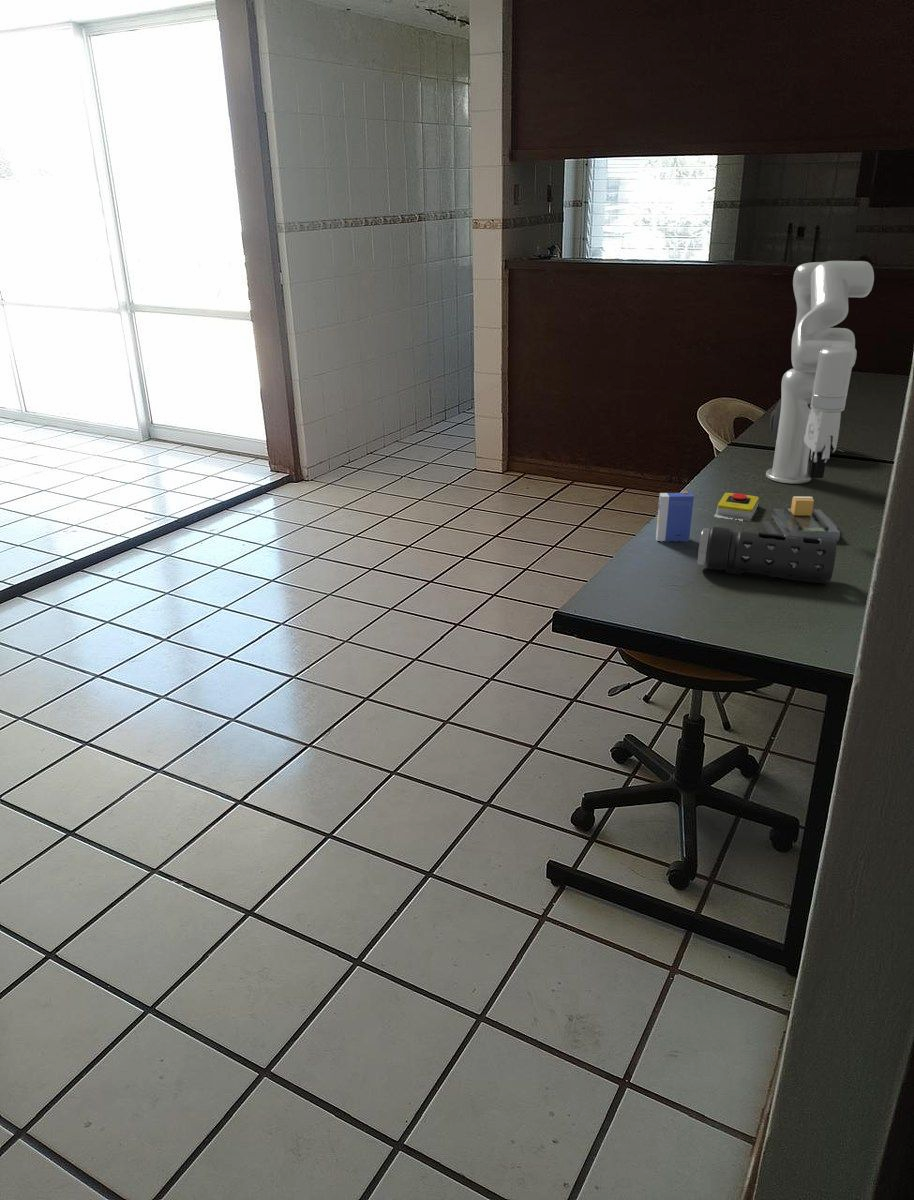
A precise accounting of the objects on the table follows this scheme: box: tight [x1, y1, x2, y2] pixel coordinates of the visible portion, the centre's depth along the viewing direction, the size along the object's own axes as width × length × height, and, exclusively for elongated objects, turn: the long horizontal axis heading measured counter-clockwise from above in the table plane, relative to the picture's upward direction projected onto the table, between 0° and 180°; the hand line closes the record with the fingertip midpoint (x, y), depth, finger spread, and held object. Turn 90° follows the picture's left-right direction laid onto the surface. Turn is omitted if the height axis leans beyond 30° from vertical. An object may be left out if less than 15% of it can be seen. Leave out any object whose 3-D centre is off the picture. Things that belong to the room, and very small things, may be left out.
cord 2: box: [826, 515, 840, 530], centre depth 227 cm, size 8×1×1 cm, turn 177°
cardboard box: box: [790, 495, 815, 516], centre depth 228 cm, size 3×4×4 cm
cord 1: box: [762, 520, 779, 534], centre depth 222 cm, size 14×1×1 cm, turn 177°
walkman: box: [655, 491, 694, 543], centre depth 218 cm, size 8×3×12 cm, turn 89°
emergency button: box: [713, 492, 759, 522], centre depth 238 cm, size 9×4×15 cm
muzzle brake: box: [697, 525, 837, 585], centre depth 199 cm, size 10×28×10 cm, turn 71°
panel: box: [771, 508, 841, 543], centre depth 225 cm, size 16×12×3 cm
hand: (815, 476), depth 218 cm, fingers closed
